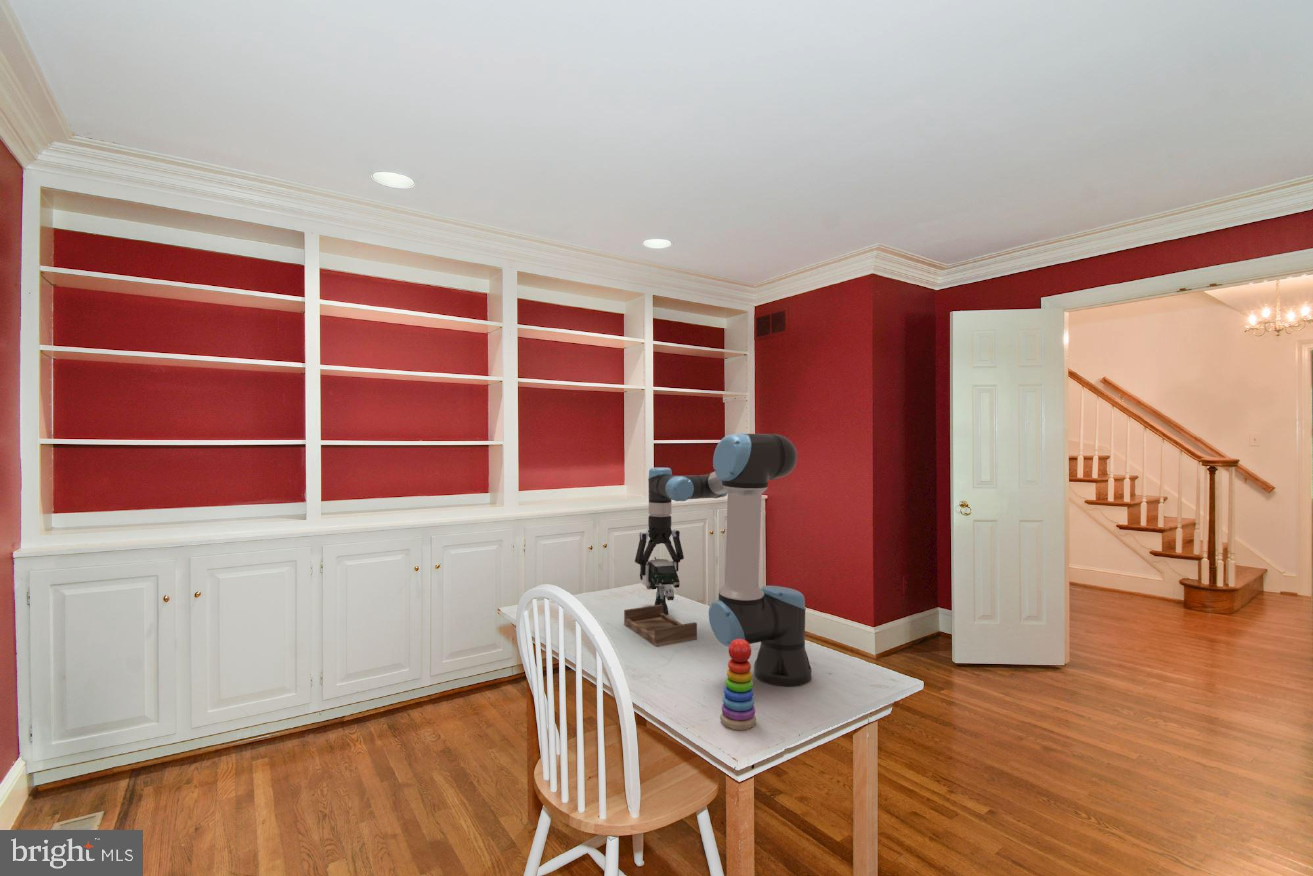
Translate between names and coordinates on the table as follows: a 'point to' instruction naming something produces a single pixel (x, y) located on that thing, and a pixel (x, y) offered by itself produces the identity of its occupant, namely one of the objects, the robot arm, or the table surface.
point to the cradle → (658, 626)
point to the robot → (663, 596)
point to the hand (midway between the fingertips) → (659, 583)
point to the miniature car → (661, 573)
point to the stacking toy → (738, 688)
